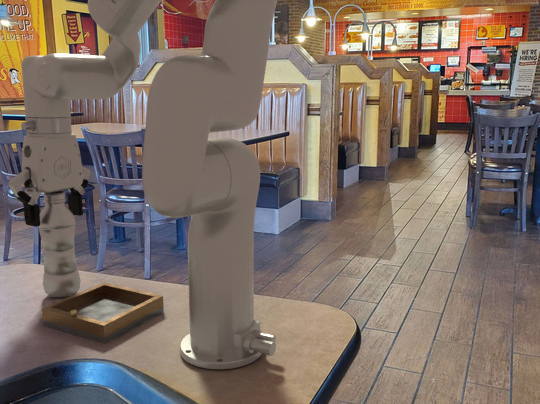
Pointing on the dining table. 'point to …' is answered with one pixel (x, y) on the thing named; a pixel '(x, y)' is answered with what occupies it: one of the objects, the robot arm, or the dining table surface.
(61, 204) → the plastic bottle
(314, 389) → the dining table surface
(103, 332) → the collar base
